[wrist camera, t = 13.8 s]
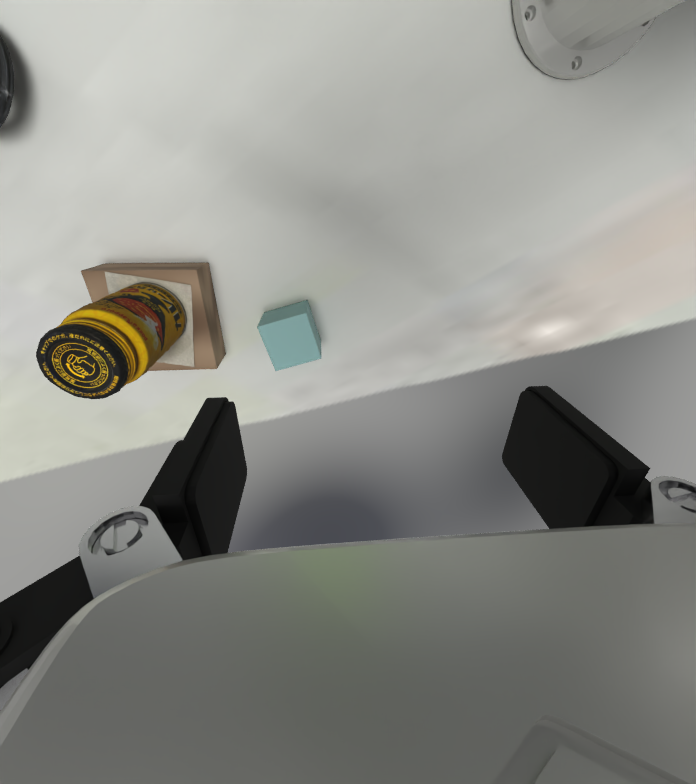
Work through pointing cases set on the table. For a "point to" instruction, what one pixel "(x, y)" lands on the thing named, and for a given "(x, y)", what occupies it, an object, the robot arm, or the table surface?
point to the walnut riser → (203, 304)
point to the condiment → (119, 336)
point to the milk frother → (5, 82)
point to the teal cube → (290, 335)
